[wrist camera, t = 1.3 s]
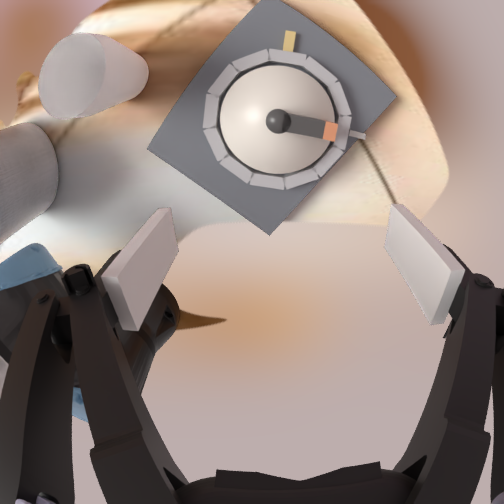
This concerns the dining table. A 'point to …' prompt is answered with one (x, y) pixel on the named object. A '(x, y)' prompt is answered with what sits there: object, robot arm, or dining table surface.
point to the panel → (234, 67)
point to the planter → (25, 176)
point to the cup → (89, 76)
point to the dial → (277, 119)
